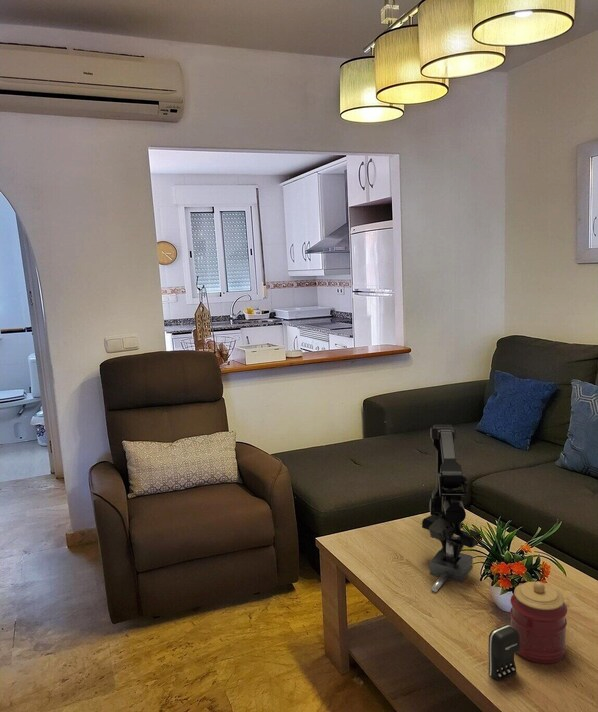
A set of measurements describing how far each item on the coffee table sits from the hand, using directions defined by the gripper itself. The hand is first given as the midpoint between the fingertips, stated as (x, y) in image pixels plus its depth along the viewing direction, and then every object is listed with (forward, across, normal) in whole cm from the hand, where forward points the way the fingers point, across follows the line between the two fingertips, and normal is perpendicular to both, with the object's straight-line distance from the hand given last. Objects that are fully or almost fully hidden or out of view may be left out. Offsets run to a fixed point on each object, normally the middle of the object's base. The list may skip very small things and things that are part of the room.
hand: (451, 555), depth 181 cm
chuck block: (+5, +1, -4) cm, 7 cm away
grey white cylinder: (+2, 0, 0) cm, 2 cm away
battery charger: (+5, +36, -28) cm, 46 cm away
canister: (+5, +36, -14) cm, 39 cm away
